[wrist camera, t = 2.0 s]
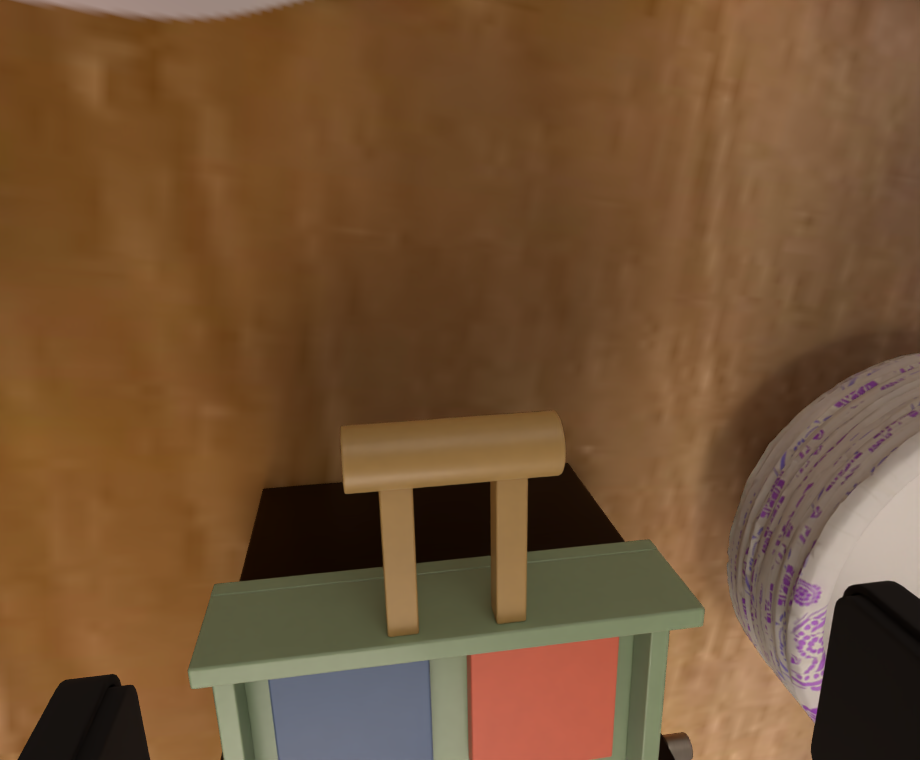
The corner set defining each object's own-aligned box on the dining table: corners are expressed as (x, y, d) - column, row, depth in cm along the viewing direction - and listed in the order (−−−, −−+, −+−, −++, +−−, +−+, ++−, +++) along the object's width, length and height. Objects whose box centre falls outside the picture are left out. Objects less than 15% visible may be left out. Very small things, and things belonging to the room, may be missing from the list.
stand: (629, 456, 28) (725, 557, 21) (618, 637, 31) (700, 780, 24) (191, 494, 26) (132, 622, 19) (220, 686, 29) (178, 862, 21)
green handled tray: (662, 367, 20) (728, 411, 17) (634, 753, 24) (682, 852, 21) (186, 399, 18) (148, 455, 15) (247, 811, 23) (229, 930, 19)
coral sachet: (611, 596, 21) (621, 612, 21) (604, 737, 23) (612, 757, 22) (465, 613, 21) (470, 630, 20) (468, 757, 22) (472, 778, 22)
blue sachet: (425, 618, 21) (428, 635, 20) (431, 763, 22) (434, 784, 22) (267, 636, 20) (264, 655, 19) (285, 784, 22) (283, 806, 21)
